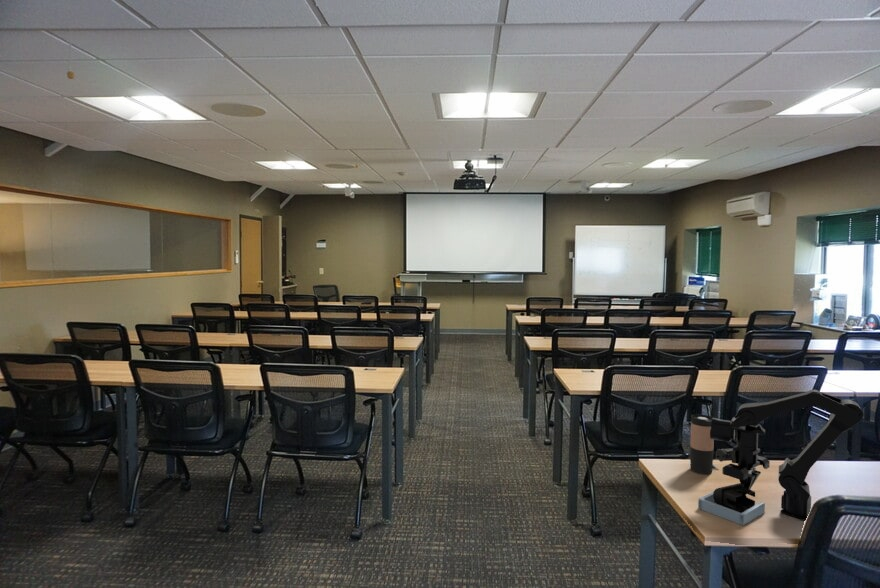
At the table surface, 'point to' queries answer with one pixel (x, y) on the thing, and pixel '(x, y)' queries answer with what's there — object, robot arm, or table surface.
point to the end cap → (734, 497)
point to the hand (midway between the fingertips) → (745, 493)
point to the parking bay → (730, 510)
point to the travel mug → (701, 444)
